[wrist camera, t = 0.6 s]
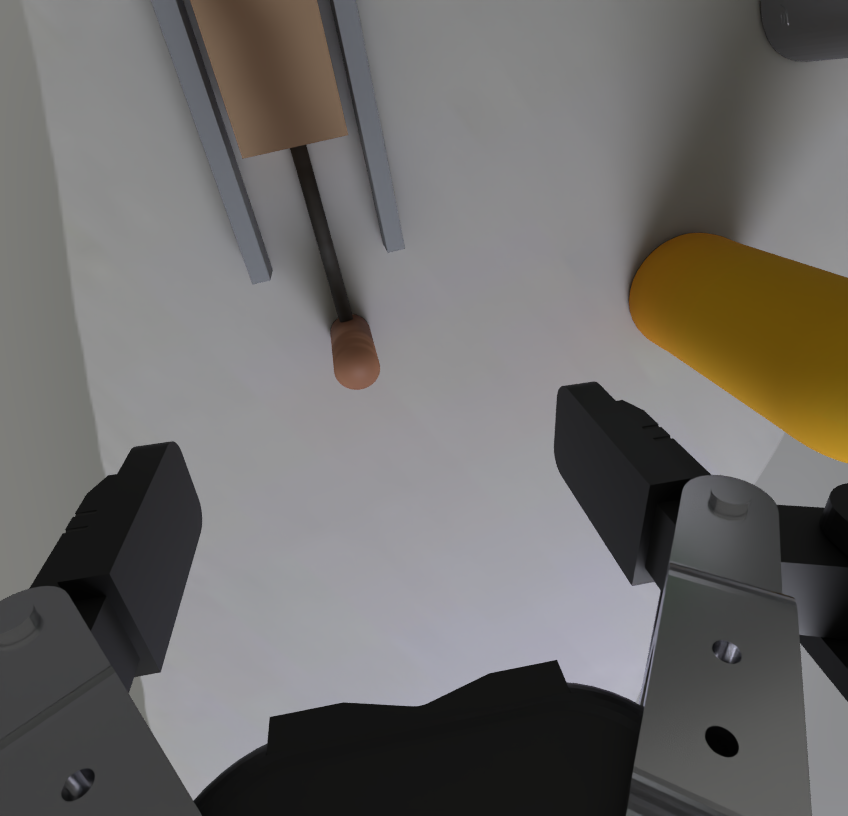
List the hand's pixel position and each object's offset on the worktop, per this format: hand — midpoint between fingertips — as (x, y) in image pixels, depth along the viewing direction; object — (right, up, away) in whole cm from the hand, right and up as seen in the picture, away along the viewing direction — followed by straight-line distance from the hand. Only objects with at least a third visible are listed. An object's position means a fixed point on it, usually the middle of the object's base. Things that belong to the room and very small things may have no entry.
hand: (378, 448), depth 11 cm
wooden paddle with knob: (-6, +15, +24) cm, 29 cm away
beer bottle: (+22, +11, +33) cm, 41 cm away
